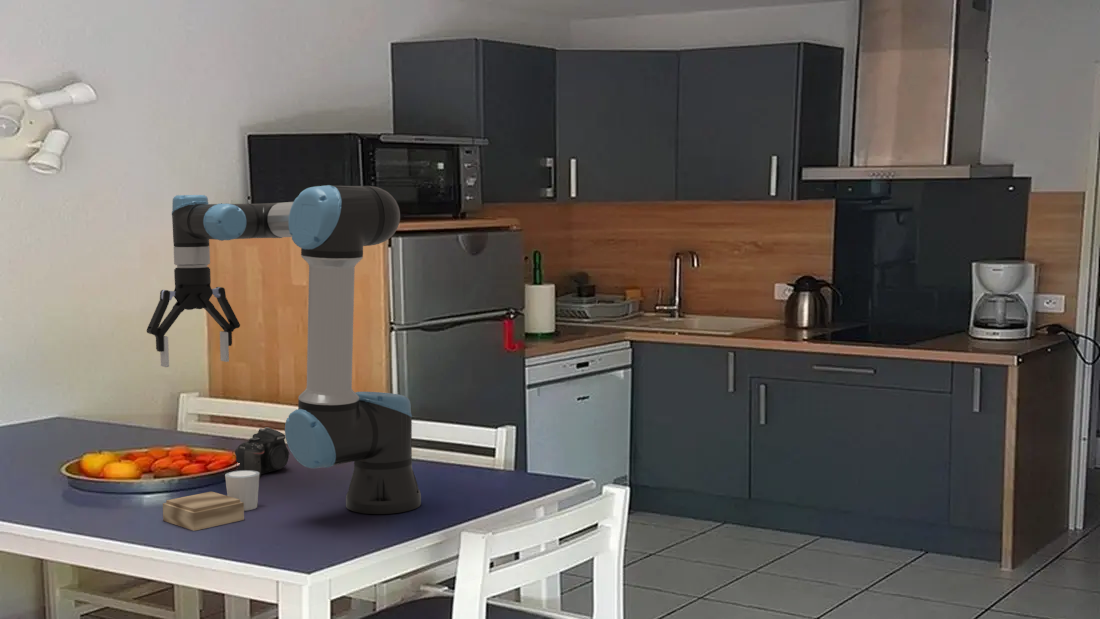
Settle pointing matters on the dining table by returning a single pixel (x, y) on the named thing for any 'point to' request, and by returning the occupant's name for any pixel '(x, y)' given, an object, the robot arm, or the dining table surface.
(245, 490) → the shot glass
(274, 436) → the camera
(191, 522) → the stand
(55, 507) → the dining table surface
